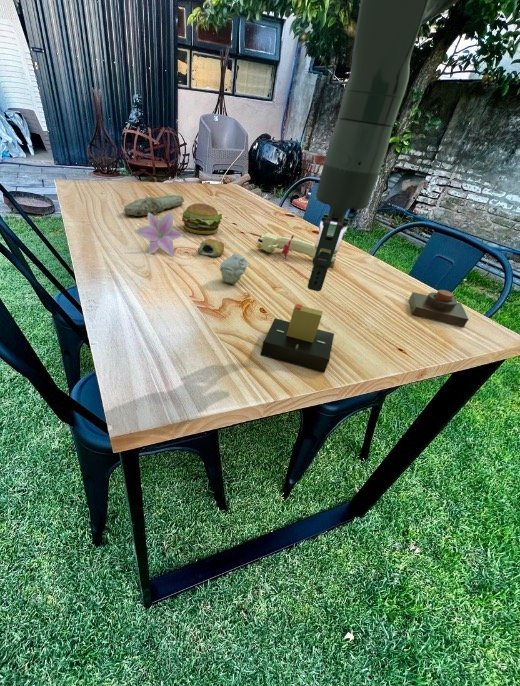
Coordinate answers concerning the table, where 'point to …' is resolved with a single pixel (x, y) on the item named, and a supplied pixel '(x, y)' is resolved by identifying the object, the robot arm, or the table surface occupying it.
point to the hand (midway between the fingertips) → (317, 280)
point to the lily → (160, 233)
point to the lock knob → (304, 323)
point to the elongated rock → (152, 205)
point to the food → (201, 219)
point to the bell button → (444, 295)
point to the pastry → (211, 247)
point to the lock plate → (297, 347)
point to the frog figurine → (233, 268)
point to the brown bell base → (437, 309)
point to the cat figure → (288, 245)
